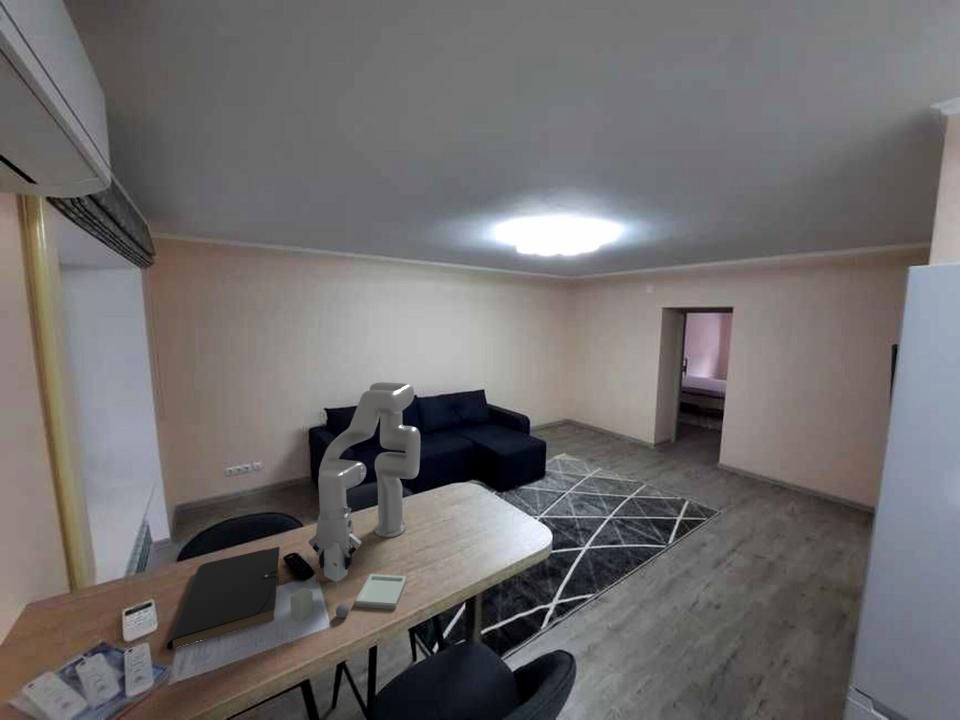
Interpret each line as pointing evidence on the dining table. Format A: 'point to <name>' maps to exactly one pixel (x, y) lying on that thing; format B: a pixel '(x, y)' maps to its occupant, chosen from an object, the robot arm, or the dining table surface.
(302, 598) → the sage block
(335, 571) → the skincare box
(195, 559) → the dining table surface
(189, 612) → the file folder
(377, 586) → the tray
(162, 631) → the dining table surface
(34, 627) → the dining table surface
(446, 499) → the dining table surface
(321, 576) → the walnut cube
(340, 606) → the grey ball
